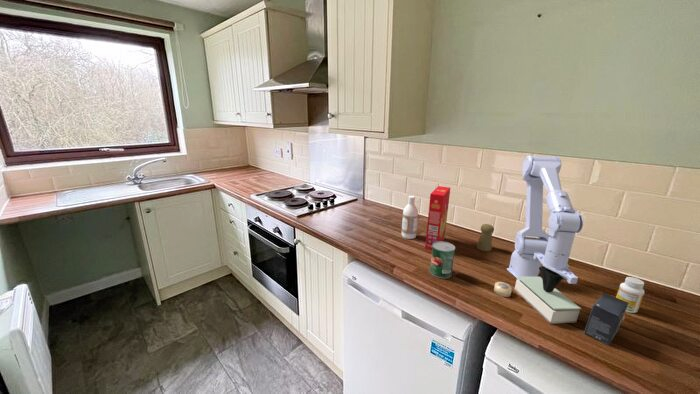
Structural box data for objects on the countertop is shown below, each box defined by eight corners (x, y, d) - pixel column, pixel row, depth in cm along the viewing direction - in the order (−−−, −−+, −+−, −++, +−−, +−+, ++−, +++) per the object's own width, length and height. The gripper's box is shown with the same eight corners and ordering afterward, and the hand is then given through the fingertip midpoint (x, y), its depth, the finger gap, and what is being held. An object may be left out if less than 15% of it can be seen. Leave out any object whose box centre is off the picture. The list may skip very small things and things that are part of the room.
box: (609, 346, 73) (620, 316, 70) (583, 333, 77) (592, 304, 74) (619, 331, 78) (629, 302, 75) (594, 319, 83) (602, 291, 80)
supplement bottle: (625, 301, 90) (634, 275, 88) (642, 313, 85) (653, 285, 82) (609, 302, 90) (618, 275, 87) (625, 313, 85) (635, 285, 82)
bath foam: (398, 234, 137) (401, 195, 131) (410, 232, 140) (413, 193, 134) (407, 240, 131) (410, 199, 125) (419, 237, 134) (422, 197, 128)
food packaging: (437, 251, 122) (443, 195, 114) (425, 248, 124) (430, 193, 117) (444, 238, 134) (450, 187, 127) (433, 236, 136) (438, 186, 129)
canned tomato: (425, 271, 106) (428, 245, 103) (437, 264, 111) (440, 239, 108) (444, 281, 100) (447, 253, 97) (456, 273, 105) (459, 246, 102)
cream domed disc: (490, 288, 97) (491, 281, 96) (504, 287, 97) (505, 281, 96) (499, 297, 92) (500, 290, 91) (513, 296, 92) (515, 290, 92)
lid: (517, 277, 94) (517, 276, 94) (539, 277, 95) (540, 276, 95) (554, 309, 79) (555, 308, 79) (580, 309, 80) (581, 308, 80)
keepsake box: (514, 289, 96) (516, 279, 95) (536, 288, 96) (539, 278, 95) (550, 323, 81) (553, 311, 79) (576, 322, 81) (579, 310, 80)
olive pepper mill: (473, 246, 126) (477, 223, 123) (482, 244, 129) (486, 221, 126) (485, 252, 121) (489, 228, 118) (494, 249, 124) (498, 226, 120)
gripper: (592, 263, 76) (580, 305, 80) (551, 239, 90) (542, 276, 94) (568, 263, 76) (556, 306, 80) (530, 240, 90) (522, 277, 94)
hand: (547, 290), depth 87 cm, fingers closed
